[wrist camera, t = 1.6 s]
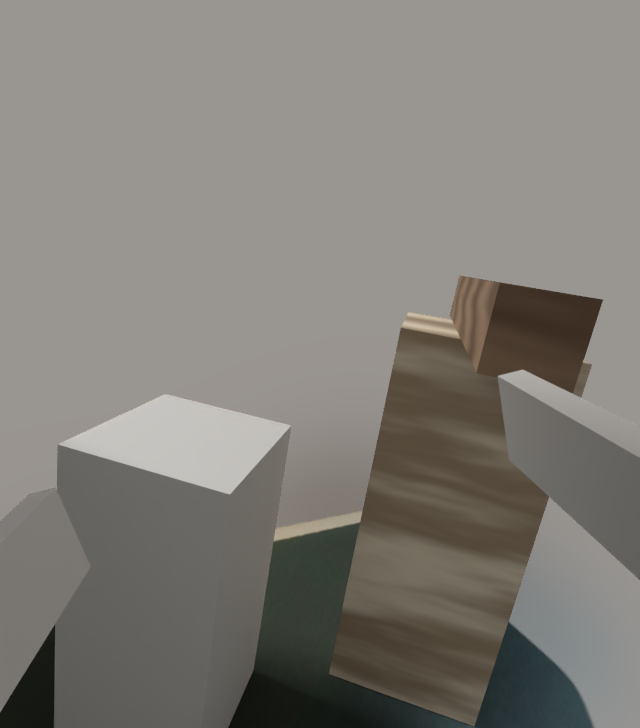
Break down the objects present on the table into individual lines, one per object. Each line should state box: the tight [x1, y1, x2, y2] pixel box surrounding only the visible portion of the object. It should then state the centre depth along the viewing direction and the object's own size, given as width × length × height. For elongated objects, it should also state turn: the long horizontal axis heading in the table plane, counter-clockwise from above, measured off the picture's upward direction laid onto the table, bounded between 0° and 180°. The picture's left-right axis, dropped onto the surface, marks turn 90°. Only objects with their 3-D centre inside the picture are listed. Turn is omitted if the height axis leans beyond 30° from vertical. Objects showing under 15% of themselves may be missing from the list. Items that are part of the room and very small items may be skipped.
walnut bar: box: [450, 276, 603, 393], centre depth 31 cm, size 26×4×4 cm, turn 166°
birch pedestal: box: [329, 312, 592, 726], centre depth 38 cm, size 12×12×30 cm
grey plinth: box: [54, 394, 291, 728], centre depth 30 cm, size 10×10×22 cm
